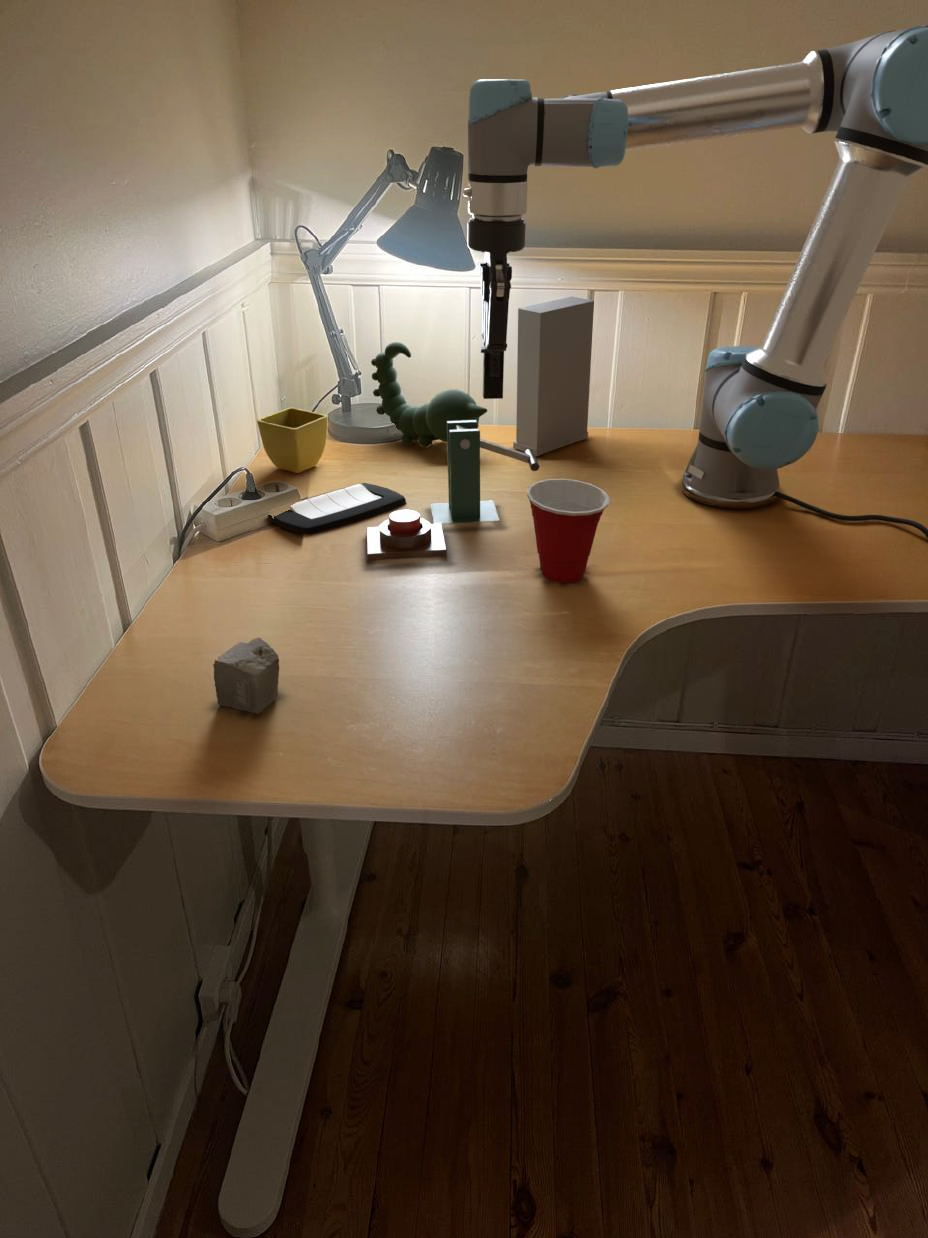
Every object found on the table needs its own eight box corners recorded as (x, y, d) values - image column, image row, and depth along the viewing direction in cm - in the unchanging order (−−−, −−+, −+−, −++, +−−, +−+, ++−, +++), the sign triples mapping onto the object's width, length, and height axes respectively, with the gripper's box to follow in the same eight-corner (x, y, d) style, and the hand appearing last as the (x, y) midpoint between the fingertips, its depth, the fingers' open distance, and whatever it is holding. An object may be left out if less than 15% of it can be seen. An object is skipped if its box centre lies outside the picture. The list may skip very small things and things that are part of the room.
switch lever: (529, 461, 144) (535, 447, 143) (536, 475, 139) (542, 461, 138) (449, 435, 141) (455, 420, 140) (453, 449, 136) (459, 433, 135)
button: (419, 521, 135) (419, 508, 134) (421, 534, 131) (421, 521, 130) (389, 523, 135) (388, 510, 134) (390, 536, 131) (389, 522, 130)
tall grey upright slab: (563, 431, 180) (568, 295, 167) (587, 439, 176) (595, 300, 163) (512, 449, 172) (513, 307, 159) (536, 457, 168) (540, 313, 155)
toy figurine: (369, 447, 178) (474, 464, 163) (356, 345, 169) (465, 353, 155) (402, 434, 184) (506, 449, 170) (391, 335, 176) (498, 341, 161)
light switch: (363, 474, 156) (413, 490, 146) (366, 490, 158) (415, 508, 148) (257, 505, 146) (302, 525, 136) (260, 522, 147) (305, 544, 137)
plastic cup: (594, 598, 122) (599, 513, 116) (514, 585, 125) (516, 502, 119) (612, 563, 131) (618, 482, 125) (537, 552, 134) (540, 472, 128)
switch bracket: (493, 507, 149) (493, 415, 141) (500, 527, 142) (500, 433, 134) (430, 510, 148) (427, 418, 140) (433, 531, 141) (430, 436, 133)
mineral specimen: (197, 718, 99) (194, 646, 97) (247, 691, 107) (244, 623, 104) (256, 732, 96) (254, 658, 94) (302, 703, 104) (301, 634, 102)
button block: (441, 536, 139) (441, 511, 137) (447, 563, 131) (446, 537, 129) (367, 540, 138) (365, 515, 136) (368, 568, 131) (366, 542, 129)
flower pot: (333, 464, 166) (328, 414, 161) (300, 480, 160) (294, 428, 155) (295, 455, 170) (290, 406, 166) (261, 470, 164) (255, 420, 159)
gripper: (463, 210, 126) (462, 384, 138) (472, 223, 115) (470, 411, 127) (519, 210, 127) (513, 383, 139) (532, 223, 116) (525, 410, 128)
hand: (492, 396), depth 133 cm, fingers closed
